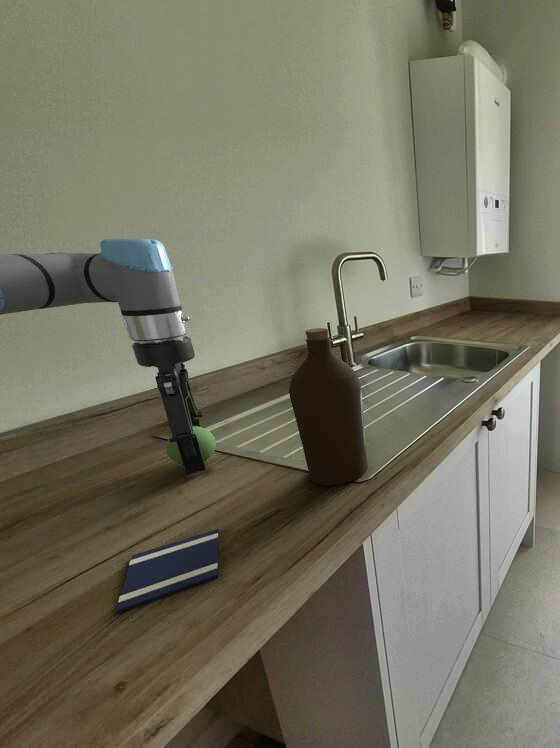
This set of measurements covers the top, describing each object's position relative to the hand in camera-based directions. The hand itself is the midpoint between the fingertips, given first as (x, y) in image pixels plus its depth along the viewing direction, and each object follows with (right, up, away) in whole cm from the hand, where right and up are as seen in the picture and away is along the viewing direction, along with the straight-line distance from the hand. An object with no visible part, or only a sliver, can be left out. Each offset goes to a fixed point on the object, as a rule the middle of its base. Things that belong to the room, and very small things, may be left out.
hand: (197, 461), depth 74 cm
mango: (0, +3, -1) cm, 3 cm away
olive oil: (+27, -1, -3) cm, 28 cm away
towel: (+16, -8, -24) cm, 30 cm away
